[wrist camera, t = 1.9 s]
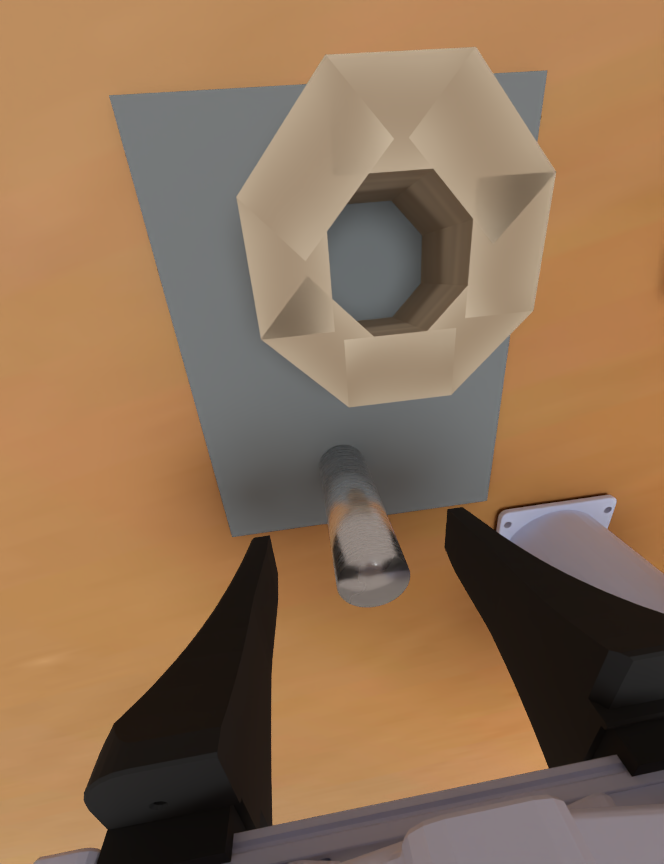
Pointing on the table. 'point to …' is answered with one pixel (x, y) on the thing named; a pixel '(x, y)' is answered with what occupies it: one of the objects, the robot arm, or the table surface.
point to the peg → (360, 531)
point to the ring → (419, 202)
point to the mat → (239, 331)
